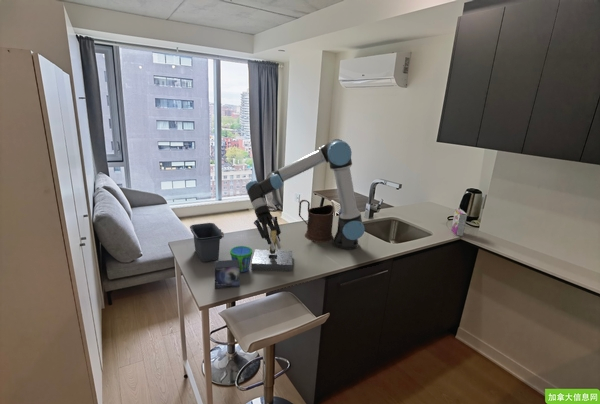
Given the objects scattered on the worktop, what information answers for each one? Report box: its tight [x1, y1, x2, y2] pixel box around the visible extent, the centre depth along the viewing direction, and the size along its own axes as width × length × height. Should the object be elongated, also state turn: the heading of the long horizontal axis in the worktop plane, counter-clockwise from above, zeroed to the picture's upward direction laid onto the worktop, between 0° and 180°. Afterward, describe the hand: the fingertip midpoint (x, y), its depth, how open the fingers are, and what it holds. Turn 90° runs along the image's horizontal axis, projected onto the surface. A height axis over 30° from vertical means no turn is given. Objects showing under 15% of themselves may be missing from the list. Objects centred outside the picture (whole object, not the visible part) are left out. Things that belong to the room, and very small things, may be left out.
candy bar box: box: [451, 208, 468, 237], centre depth 215 cm, size 11×5×16 cm, turn 171°
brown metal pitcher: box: [298, 199, 335, 243], centre depth 192 cm, size 18×24×25 cm
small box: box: [214, 259, 240, 290], centre depth 134 cm, size 11×6×10 cm, turn 105°
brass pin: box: [269, 229, 277, 254], centre depth 154 cm, size 3×3×12 cm
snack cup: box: [229, 245, 253, 274], centre depth 148 cm, size 16×10×10 cm
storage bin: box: [189, 222, 224, 263], centre depth 160 cm, size 21×16×14 cm
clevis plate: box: [250, 248, 293, 272], centre depth 157 cm, size 20×16×4 cm
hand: (276, 248), depth 152 cm, fingers closed on brass pin, 3 cm apart
